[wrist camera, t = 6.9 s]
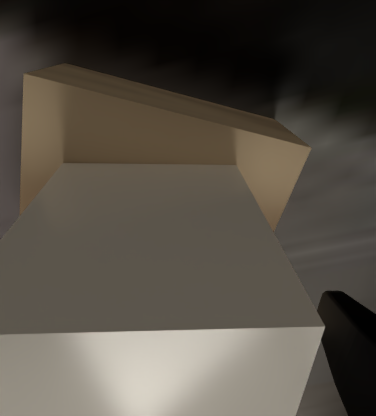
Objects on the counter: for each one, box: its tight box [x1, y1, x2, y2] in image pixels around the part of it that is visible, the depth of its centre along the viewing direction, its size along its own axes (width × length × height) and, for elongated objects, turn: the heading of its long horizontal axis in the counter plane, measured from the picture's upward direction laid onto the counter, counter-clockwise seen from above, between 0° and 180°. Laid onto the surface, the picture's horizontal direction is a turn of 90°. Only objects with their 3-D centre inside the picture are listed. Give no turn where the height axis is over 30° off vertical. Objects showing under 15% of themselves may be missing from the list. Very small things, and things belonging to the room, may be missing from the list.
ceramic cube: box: [0, 163, 325, 416], centre depth 8 cm, size 5×5×6 cm
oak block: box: [20, 63, 311, 232], centre depth 12 cm, size 8×8×4 cm
